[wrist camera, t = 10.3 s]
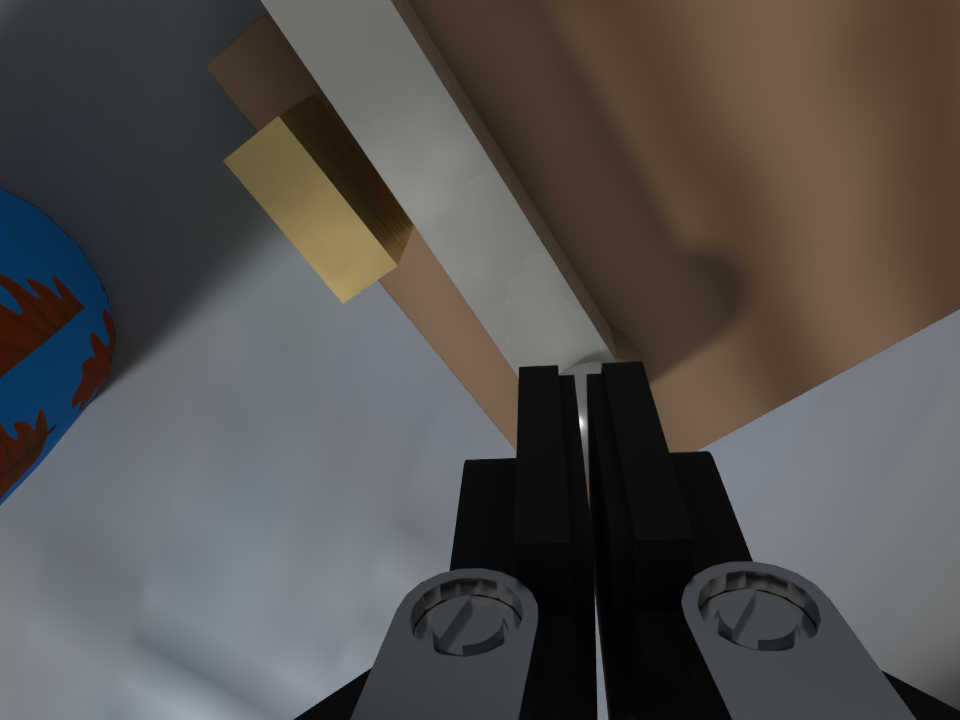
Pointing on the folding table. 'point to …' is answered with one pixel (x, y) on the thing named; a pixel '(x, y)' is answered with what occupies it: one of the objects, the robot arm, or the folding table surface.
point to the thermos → (45, 337)
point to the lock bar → (453, 183)
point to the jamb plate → (696, 182)
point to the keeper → (324, 197)
